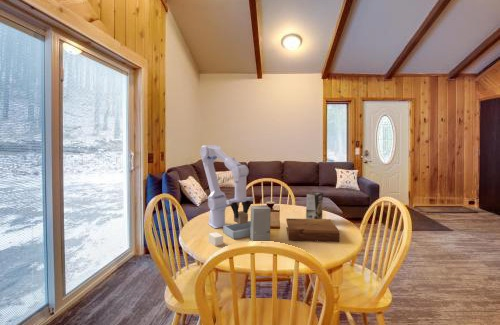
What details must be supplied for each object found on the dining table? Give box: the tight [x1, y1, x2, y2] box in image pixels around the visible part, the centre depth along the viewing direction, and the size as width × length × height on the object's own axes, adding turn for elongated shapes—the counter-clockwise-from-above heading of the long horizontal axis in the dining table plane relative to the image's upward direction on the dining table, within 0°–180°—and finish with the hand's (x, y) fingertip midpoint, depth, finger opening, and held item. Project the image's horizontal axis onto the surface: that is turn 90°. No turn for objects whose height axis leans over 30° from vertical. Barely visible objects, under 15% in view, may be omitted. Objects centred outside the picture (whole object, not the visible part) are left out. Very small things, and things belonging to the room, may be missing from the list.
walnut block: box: [233, 210, 249, 224], centre depth 138 cm, size 6×4×4 cm
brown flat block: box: [285, 218, 341, 243], centre depth 137 cm, size 23×19×6 cm
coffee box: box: [305, 191, 324, 219], centre depth 158 cm, size 9×6×16 cm
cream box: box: [208, 231, 224, 247], centre depth 126 cm, size 6×4×4 cm, turn 36°
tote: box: [222, 220, 251, 240], centre depth 140 cm, size 11×18×3 cm, turn 123°
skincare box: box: [249, 205, 272, 242], centre depth 129 cm, size 8×7×16 cm
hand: (240, 216), depth 138 cm, fingers closed on walnut block, 4 cm apart
